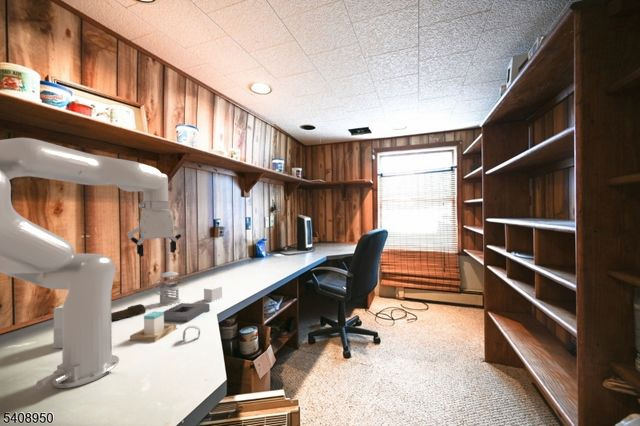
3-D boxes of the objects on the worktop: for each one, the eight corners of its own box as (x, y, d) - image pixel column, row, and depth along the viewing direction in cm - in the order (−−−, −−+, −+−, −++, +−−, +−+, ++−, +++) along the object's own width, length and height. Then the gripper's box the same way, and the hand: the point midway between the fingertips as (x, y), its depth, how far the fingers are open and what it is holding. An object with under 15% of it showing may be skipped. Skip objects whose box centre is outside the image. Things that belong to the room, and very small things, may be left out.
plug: (154, 337, 82) (154, 316, 82) (144, 336, 82) (143, 316, 83) (163, 331, 86) (163, 311, 86) (154, 331, 86) (153, 311, 87)
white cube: (212, 302, 119) (211, 289, 119) (204, 300, 122) (203, 288, 122) (222, 298, 124) (221, 286, 125) (214, 296, 127) (213, 285, 127)
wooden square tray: (154, 344, 78) (154, 337, 78) (128, 343, 80) (128, 336, 80) (177, 330, 88) (177, 324, 88) (153, 329, 90) (153, 323, 90)
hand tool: (85, 330, 92) (85, 317, 92) (85, 326, 95) (85, 314, 95) (146, 315, 105) (146, 304, 105) (144, 312, 108) (144, 302, 108)
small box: (73, 347, 78) (72, 307, 79) (52, 348, 78) (52, 308, 78) (95, 335, 86) (95, 299, 87) (77, 336, 86) (76, 299, 86)
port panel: (187, 324, 93) (187, 316, 93) (155, 323, 95) (155, 315, 95) (209, 310, 107) (209, 303, 107) (181, 309, 109) (181, 303, 109)
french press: (183, 302, 120) (182, 251, 121) (156, 308, 112) (155, 254, 112) (177, 298, 127) (177, 250, 128) (151, 304, 119) (150, 253, 119)
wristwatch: (183, 341, 80) (183, 326, 80) (200, 338, 82) (200, 323, 82) (182, 345, 77) (182, 329, 77) (199, 342, 79) (199, 326, 79)
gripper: (128, 206, 79) (129, 258, 78) (186, 206, 91) (187, 251, 91) (124, 207, 84) (125, 256, 84) (179, 207, 96) (180, 250, 96)
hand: (157, 254), depth 87 cm, fingers open, 9 cm apart
